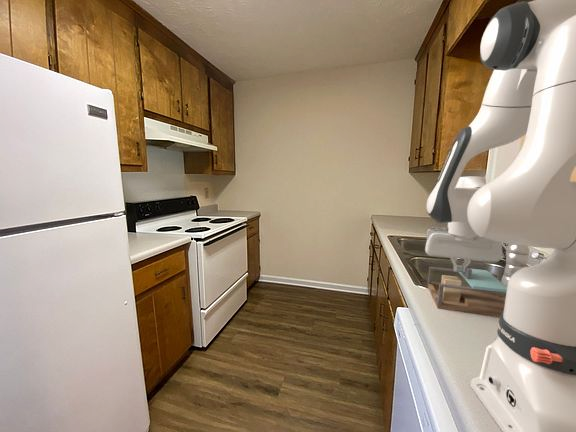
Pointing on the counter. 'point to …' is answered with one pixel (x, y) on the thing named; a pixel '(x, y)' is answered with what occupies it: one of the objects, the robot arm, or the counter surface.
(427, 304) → the counter surface
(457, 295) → the block
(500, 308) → the brown wooden box
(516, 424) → the robot arm
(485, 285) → the cover
